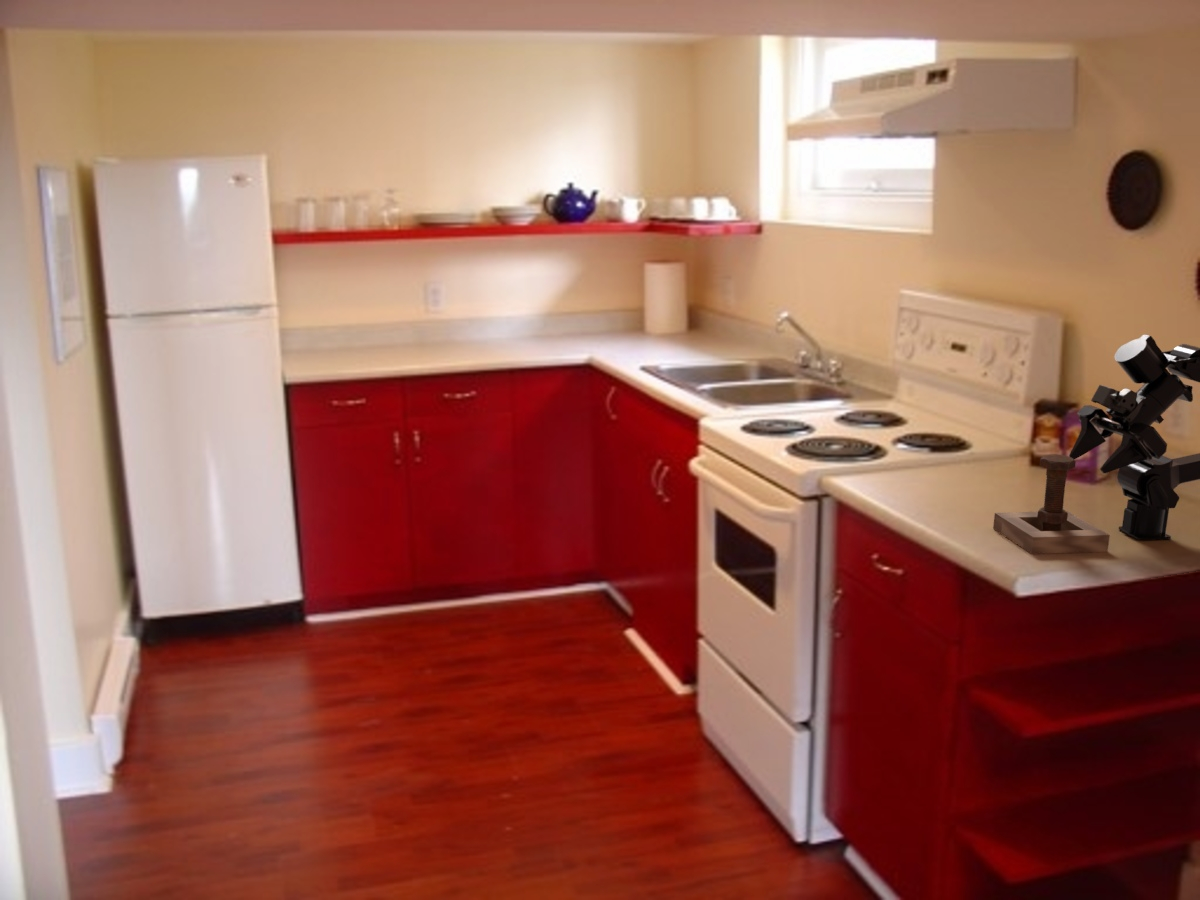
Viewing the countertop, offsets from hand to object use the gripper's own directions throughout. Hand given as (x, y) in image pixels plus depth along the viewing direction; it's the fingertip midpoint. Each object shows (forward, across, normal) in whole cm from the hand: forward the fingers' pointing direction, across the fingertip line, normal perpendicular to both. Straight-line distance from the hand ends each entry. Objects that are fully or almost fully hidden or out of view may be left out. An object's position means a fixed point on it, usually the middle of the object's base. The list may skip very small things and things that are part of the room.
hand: (1086, 464), depth 202 cm
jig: (+14, 0, +6) cm, 15 cm away
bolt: (+14, 0, +6) cm, 15 cm away
